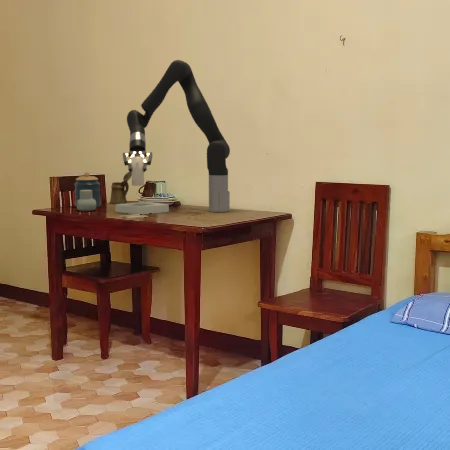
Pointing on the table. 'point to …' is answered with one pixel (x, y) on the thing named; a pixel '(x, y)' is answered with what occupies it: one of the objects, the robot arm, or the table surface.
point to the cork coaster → (133, 216)
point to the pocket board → (142, 208)
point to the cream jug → (137, 171)
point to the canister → (87, 187)
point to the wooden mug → (120, 190)
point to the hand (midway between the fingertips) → (137, 170)
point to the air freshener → (86, 201)
